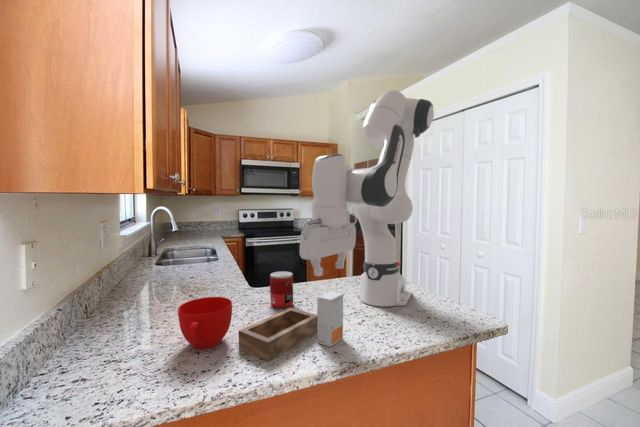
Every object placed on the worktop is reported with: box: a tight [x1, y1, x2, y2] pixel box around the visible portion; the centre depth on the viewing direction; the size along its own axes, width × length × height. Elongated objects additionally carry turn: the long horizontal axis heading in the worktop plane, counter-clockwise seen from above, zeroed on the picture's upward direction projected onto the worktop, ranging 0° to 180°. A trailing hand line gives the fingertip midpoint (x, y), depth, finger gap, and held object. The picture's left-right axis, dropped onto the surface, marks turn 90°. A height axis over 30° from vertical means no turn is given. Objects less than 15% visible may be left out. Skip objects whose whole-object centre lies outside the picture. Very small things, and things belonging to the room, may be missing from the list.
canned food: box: [269, 270, 294, 310], centre depth 104 cm, size 8×8×11 cm
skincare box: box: [316, 291, 344, 348], centre depth 77 cm, size 6×4×12 cm
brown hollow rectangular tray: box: [237, 307, 317, 363], centre depth 79 cm, size 19×10×4 cm, turn 143°
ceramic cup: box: [177, 296, 233, 350], centre depth 75 cm, size 13×17×10 cm
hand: (329, 271), depth 77 cm, fingers open, 8 cm apart
